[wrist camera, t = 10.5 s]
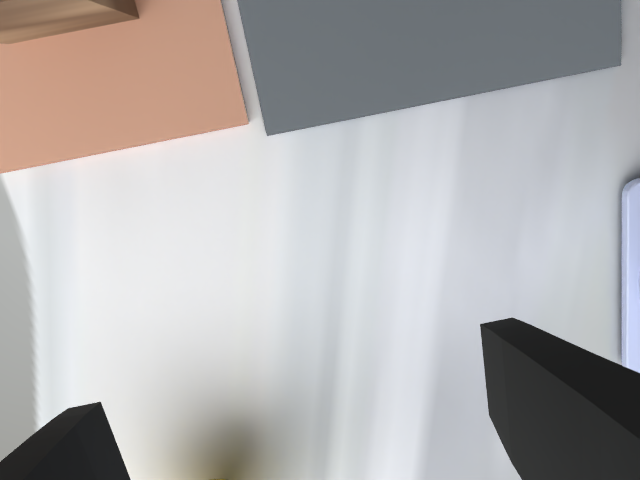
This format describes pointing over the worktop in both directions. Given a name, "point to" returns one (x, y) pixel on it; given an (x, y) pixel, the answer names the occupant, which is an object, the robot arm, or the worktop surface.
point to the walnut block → (59, 17)
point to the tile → (119, 85)
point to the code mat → (414, 52)
